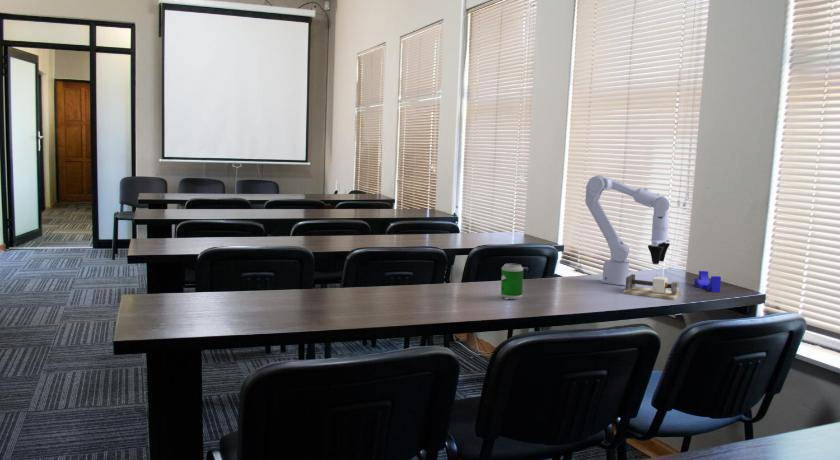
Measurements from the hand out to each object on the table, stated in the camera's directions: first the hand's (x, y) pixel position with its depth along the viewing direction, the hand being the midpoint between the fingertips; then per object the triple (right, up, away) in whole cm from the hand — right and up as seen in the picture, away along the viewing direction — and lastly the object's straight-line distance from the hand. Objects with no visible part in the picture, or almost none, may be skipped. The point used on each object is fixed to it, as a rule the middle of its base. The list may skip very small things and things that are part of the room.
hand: (658, 262), depth 253 cm
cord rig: (-7, -11, -12) cm, 18 cm away
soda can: (-60, -12, -21) cm, 65 cm away
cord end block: (-4, -10, -14) cm, 18 cm away
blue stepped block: (+18, -10, -2) cm, 21 cm away
